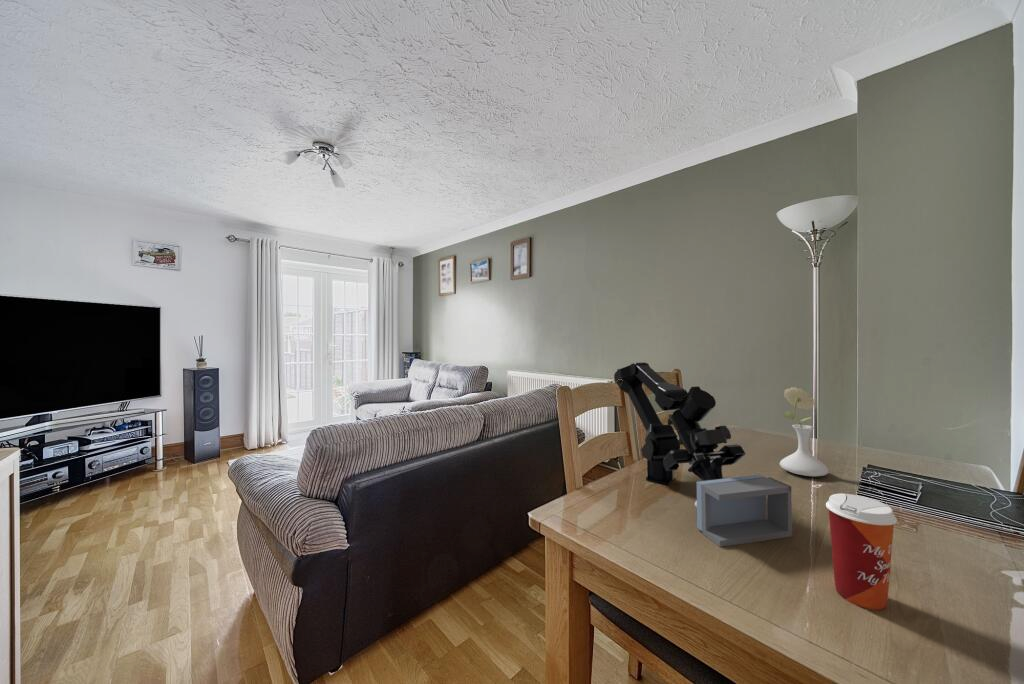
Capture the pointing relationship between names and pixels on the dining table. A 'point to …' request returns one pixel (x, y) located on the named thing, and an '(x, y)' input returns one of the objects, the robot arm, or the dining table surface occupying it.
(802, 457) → the flower in vase
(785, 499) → the cabinet
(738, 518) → the door
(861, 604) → the coffee cup
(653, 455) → the robot arm
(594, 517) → the dining table surface
